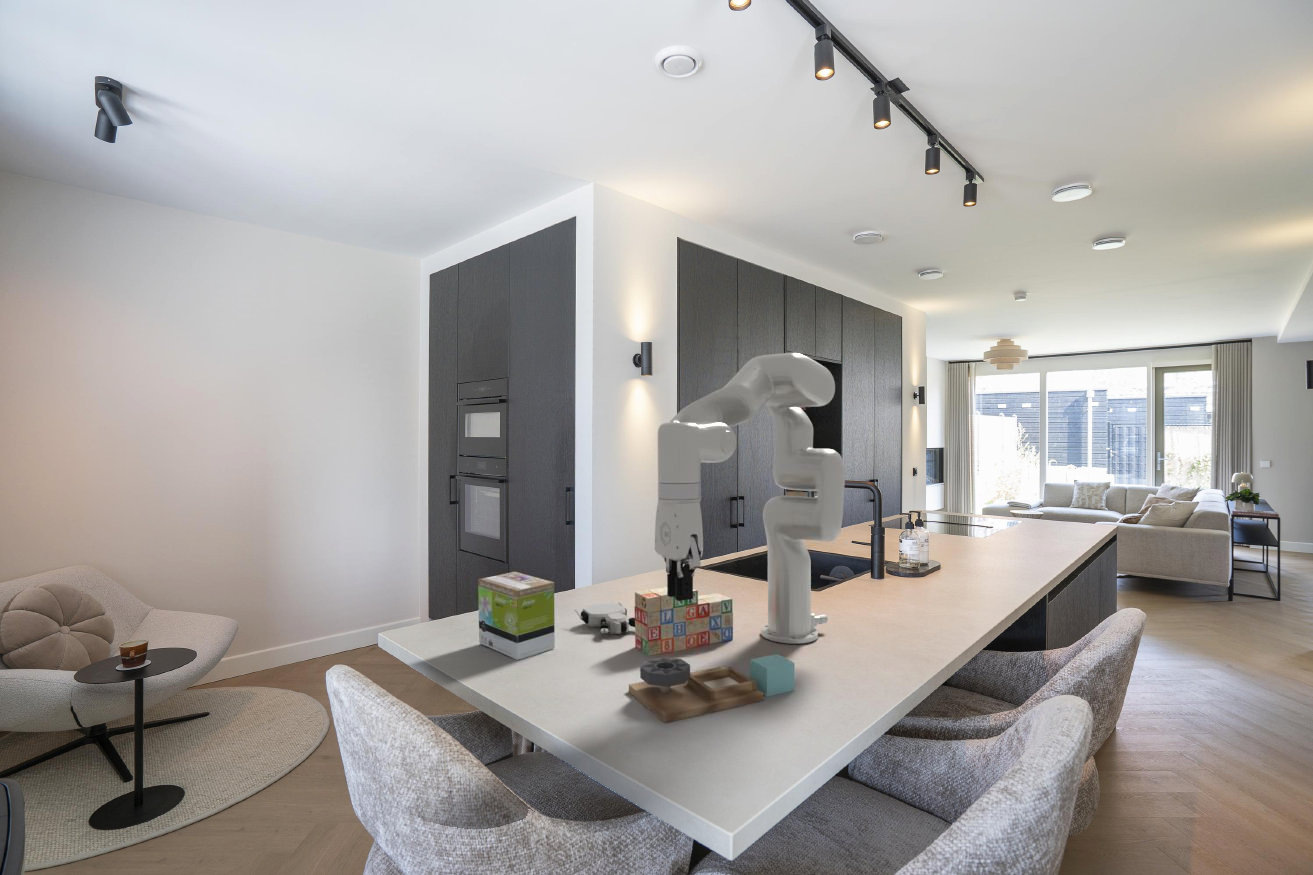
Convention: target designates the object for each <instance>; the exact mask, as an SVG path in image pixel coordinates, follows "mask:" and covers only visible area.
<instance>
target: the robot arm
mask: <svg viewBox="0 0 1313 875" xmlns="http://www.w3.org/2000/svg"><path fill="white" fill-rule="evenodd" d="M835 392H836V383H835V380H834V376H833V375H832V373H831V371H830V370H829V369H828V368H827V367H826V366H823V365H822V364H821V363H819V362H817V361H816V360H814V359H812V358H810V357H809V356H806V355H803V354H802V353H797V352H785V353H773V354H772V353H771V354H763V355H758V356H755V357H753V358H751V359H749V360H748V361H747V362H746V363H745V364H744V365H743V367H742V368H741V369H739V371H737V373H736V374H735V375H734V376H733V377H732V378H731V379H730V380H729V381H728V382H727V383H726V385H724V387H722V388H720V389H717V390H714V391H713V392H711V393H709V394H707V395H705V396H703V397H701V398H700V399H697V400H695V401H693V402H691V403H690V404H687V405H686V406H685V407H683V408H682V409H681V410H680V411H678V413H677V414H676V415H675V416H674V417H673V418H671V420H670V421H669V422H664V423H661V424H660V425H659V426H658V430H657V506H656V514H655V525H654V526H655V527H654V528H655V529H654V551H655V552H656V554H658V555H659V556H661V557H662V558H663V559H664V562H665V571H666V579H667V581H666V582H667V583H666V587H667V595H668V596H669V597H674V596H675V599H676V600H677V601H682V600H689V599H692V598H693V589H694V577H695V572H696V569H698V568H700V567H701V565H702V564H701V563H702V562H701V559H702V556H703V554H704V552H703V551H704V535H703V534H704V533H703V531H704V530H703V518H702V516H703V515H702V510H701V502H702V495H701V494H702V492H701V490H702V489H701V488H702V486H701V485H702V483H701V482H702V481H701V480H702V478H701V477H702V476H701V472H702V470H701V467H702V465H701V464H702V463H706V464H710V463H711V464H712V463H713V464H714V463H716V464H717V463H722V462H724V461H726V460H728V459H729V458H731V457H732V455H734V453H735V450H736V449H737V436H736V434H735V432H734V430H733V429H732V427H735V426H738V425H740V424H744V423H745V422H748V421H749V422H750V420H753V418H755V416H757V414H758V413H759V411H760V410H761V409H762V408H763V407H764V406H766V408H767V410H768V412H769V414H770V416H771V418H772V420H773V423H774V427H775V434H774V435H775V438H774V451H773V452H774V453H773V454H774V455H773V465H772V467H773V469H772V470H773V472H772V474H773V481H774V483H775V485H776V486H778V487H779V488H781V489H785V490H792V491H805V492H816V495H817V497H816V496H815V497H814V496H800V495H777V496H773V497H771V498H770V499H769V500H768V501H767V502H765V504H764V507H763V510H762V519H763V520H762V522H763V526H764V531H765V537H766V546H767V547H766V548H767V624H765V625H763V626H762V627H761V630H760V632H761V633H760V634H761V636H762V637H763V638H764V639H767V640H769V641H770V642H771V641H772V642H776V643H781V644H790V645H791V644H795V645H796V644H797V645H799V644H808V643H812V642H814V641H816V640H817V639H818V638H819V631H818V630H817V629H816V627H817V625H823V624H827V623H828V619H829V618H828V616H827V615H826V614H820V615H817V616H816V615H815V614H814V613H812V596H811V595H812V592H811V589H812V588H811V587H812V586H811V585H812V582H811V581H812V580H811V579H812V576H811V573H812V570H811V566H812V565H811V564H812V563H811V562H812V561H811V556H810V552H809V551H808V548H807V546H806V545H805V544H804V542H803V541H804V540H805V541H813V542H825V543H829V542H834V541H835V540H837V538H838V537H840V534H841V532H842V526H843V518H844V517H843V516H844V498H845V497H844V496H845V485H846V484H845V483H846V482H845V481H846V477H845V476H846V472H845V471H846V470H845V469H846V468H845V463H844V461H843V457H842V456H841V454H840V453H839V452H837V451H836V450H835V449H831V448H814V426H813V423H812V421H811V420H810V418H809V416H808V415H807V413H806V412H805V411H804V410H803V408H806V407H807V408H811V407H812V408H813V407H815V408H816V407H823V406H826V405H828V404H829V403H830V402H831V401H832V400H833V398H834V396H835Z"/></svg>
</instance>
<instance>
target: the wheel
mask: <svg viewBox="0 0 1313 875" xmlns="http://www.w3.org/2000/svg"><path fill="white" fill-rule="evenodd" d="M639 667H640V670H639V674H640V679H641V680H643V682H644V681H645V682H646V683H647V684H649V685H656V686H664V687H670V686H674V685H679V684H684V683H686V681H687V680H688V679H689V677H690V672H691V664H689V663H688V662H686V661H685V660H683V659H682V658H676V657H669V656H668V657H667V656H661V657H654V658H651V659H646V660H645V661H644V662H643V663H642V664H641V665H640V666H639Z"/></svg>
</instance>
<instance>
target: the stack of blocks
mask: <svg viewBox="0 0 1313 875" xmlns="http://www.w3.org/2000/svg"><path fill="white" fill-rule="evenodd" d="M698 592H699V590H697V589H695V588H693V598H692V599H689V600H682V601H677V600H676V599H675V596H674V597H669V596H668V595H667V586H665V587H660V588H651V589H645V590H638V591H635V592H634V610H633V611H634V618H635V627H634V630H635V631H634V632H635V633H634V634H635V636H634V637H635V638H634V639H635V640H634V642H635V643H634V645H635V648H636V649H637V650H638V651H640V652H642V653H643V654H644V655H646V656H653V655H655V656H656V655H658V654H659V655H660V654H665V653H666V654H667V653H670V652H671V653H672V652H677V651H683V650H687V649H692V648H697V647H701V646H707V645H713V644H717V643H722V642H723V643H724V642H729V641H733V640H734V613H733V599H732V598H731V597H729V596H726V595H723V594H720V593H715V592H714V593H710V594H701V595H699V593H698Z"/></svg>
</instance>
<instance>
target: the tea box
mask: <svg viewBox="0 0 1313 875" xmlns="http://www.w3.org/2000/svg"><path fill="white" fill-rule="evenodd" d="M477 581H478V582H477V583H478V585H477V586H478V587H477V590H478V591H477V592H478V603H477V604H478V643H479V645H483V646H485V647H488V648H490V649H492V650H493V651H497V652H499V653H501V654H504V655H505V656H508V657H510V658H511V659H514V660H516V661H520V660H524V659H526V657H527V658H530V657H533V656H536V655H539V654H542V653H545V652H547V651H551V650H553V649H555V646H556V645H555V641H556V640H555V639H556V638H555V637H556V636H555V635H556V634H555V582H554V581H552V580H547V579H543V578H540V577H536V576H532V575H529V574H526V573H525V574H524V573H522V572H518V571H511V572H505V573H502V574H498V575H494V576H493V575H492V576H489V577H488V576H487V577H483V578H478V580H477ZM519 659H520V660H519Z"/></svg>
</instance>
